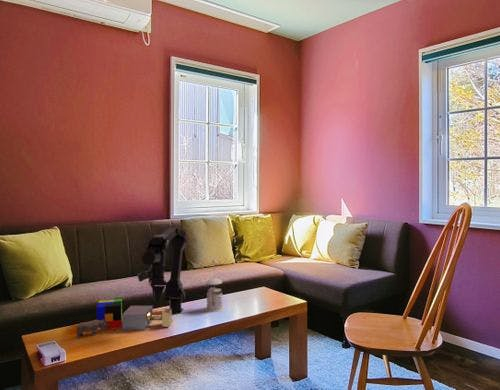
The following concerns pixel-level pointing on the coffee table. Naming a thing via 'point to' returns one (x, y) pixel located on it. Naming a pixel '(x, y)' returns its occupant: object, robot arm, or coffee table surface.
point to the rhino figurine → (90, 327)
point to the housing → (136, 318)
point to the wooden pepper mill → (162, 317)
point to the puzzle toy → (110, 313)
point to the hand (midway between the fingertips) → (155, 300)
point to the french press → (214, 295)
